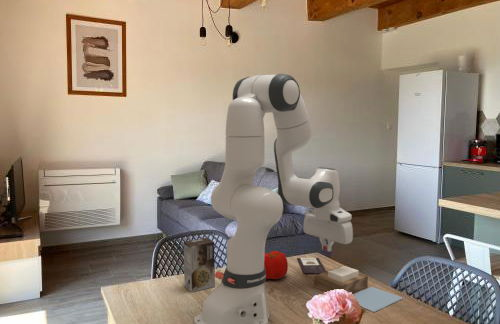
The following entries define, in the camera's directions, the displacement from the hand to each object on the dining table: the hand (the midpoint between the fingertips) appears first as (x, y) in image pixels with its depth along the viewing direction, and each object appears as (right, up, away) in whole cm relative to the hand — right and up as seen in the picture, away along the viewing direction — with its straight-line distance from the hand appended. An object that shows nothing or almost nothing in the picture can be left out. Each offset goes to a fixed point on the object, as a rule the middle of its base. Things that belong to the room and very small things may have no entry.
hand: (326, 250), depth 151 cm
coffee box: (-45, -12, -5) cm, 47 cm away
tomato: (-19, -11, +5) cm, 23 cm away
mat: (+12, -13, -15) cm, 23 cm away
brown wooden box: (+4, -12, -5) cm, 13 cm away
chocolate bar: (-3, -10, +17) cm, 20 cm away
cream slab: (+5, -8, -6) cm, 11 cm away
